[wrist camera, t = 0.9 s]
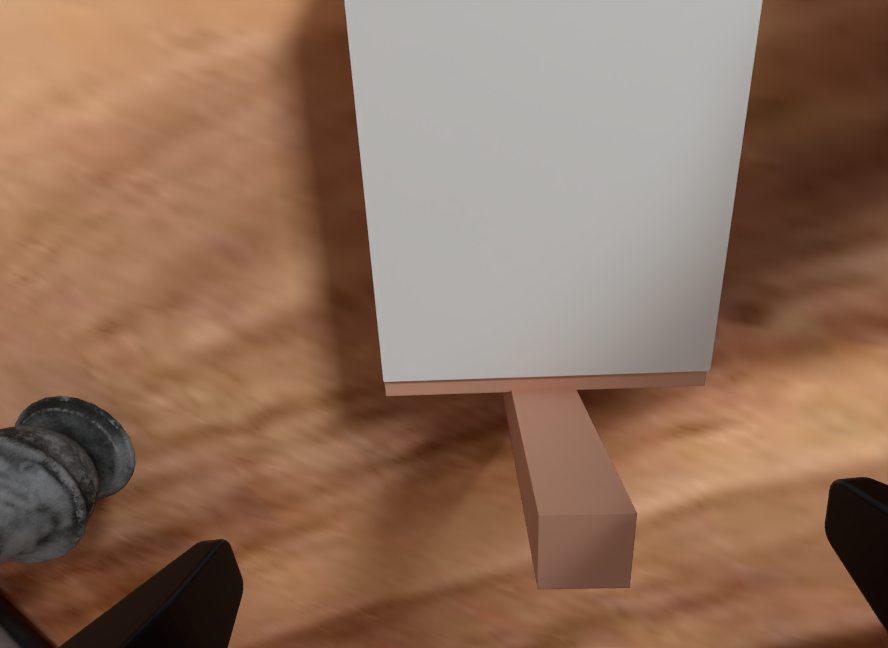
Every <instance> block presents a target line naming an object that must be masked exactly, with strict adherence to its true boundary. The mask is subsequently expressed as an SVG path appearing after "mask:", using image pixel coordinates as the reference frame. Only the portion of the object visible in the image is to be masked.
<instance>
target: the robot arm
mask: <svg viewBox="0 0 888 648" xmlns="http://www.w3.org/2000/svg"><path fill="white" fill-rule="evenodd" d="M825 532H826V535H827V538H828V540H829V542H830V544H831V546H832V548H833V549H834V551H835V552H836V554H837V555H838V557H839V558H840V560H841V562H842V563H843V565H844V566H845V568H846V569H847V571H848V572H849V574H850V575H851V577H852V579H853V580H854V582H855V583H856V585H857V586H858V588H859V589H860V591H861V593H862V594H863V596H864V597H865V599H866V600H867V602H868V603H869V605H870V606H871V608H872V610H873V611H874V613H875V614H876V616H877V617H878V619H879V620H880V622H881V623H882V625H883V627H884V628H885V630H886V631H887V633H888V485H886V484H884V483H881V482H879V481H876V480H874V479H871V478H867V477H856V478H846V479H838V480H836V481H834V482H833V483H832V484H831V486H830V489H829V497H828V504H827V511H826V519H825ZM242 594H243V579H242V575H241V573H240V570H239V567H238V564H237V562H236V559H235V556H234V553H233V551H232V548H231V545H230V543H229V542H228V541H226V540H224V539H217V540H207V541H201V542H198V543H197V544H195V545H194V546H192V547H191V548H190V549H188V550H187V551H186V552H185V553H183V554H182V555H181V556H179V557H178V558H177V559H175V560H174V561H173V562H171V563H170V564H169V565H167V566H166V567H165V568H163V569H162V570H161V571H159V572H158V573H157V574H155V575H154V576H153V577H151V578H150V579H149V580H147V581H146V582H145V583H143V584H142V585H141V586H139V587H138V588H137V589H135V590H134V591H133V592H131V593H130V594H129V595H127V596H126V597H125V598H123V599H122V600H121V601H120V602H118V603H117V604H116V605H114V606H113V607H112V608H110V609H109V610H108V611H106V612H105V613H104V614H102V615H101V616H100V617H98V618H97V619H96V620H94V621H93V622H92V623H90V624H89V625H88V626H86V627H85V628H84V629H82V630H81V631H80V632H78V633H77V634H76V635H74V636H73V637H72V638H70V639H69V640H68V641H66V642H65V643H64V644H62V645H61V646H60V647H58V648H228V644H229V641H230V637H231V634H232V630H233V626H234V623H235V619H236V616H237V612H238V609H239V605H240V602H241V598H242Z"/></svg>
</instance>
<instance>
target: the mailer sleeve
mask: <svg viewBox="0 0 888 648" xmlns="http://www.w3.org/2000/svg"><path fill="white" fill-rule="evenodd" d="M762 1H763V0H344V2H345V12H346V22H347V32H348V41H349V51H350V61H351V71H352V80H353V90H354V100H355V109H356V119H357V129H358V139H359V148H360V158H361V168H362V178H363V187H364V197H365V207H366V217H367V226H368V236H369V246H370V256H371V265H372V275H373V285H374V295H375V304H376V314H377V324H378V334H379V343H380V353H381V363H382V373H383V382H397V381H426V380H456V379H485V378H515V377H545V376H574V375H604V374H633V373H663V372H693V371H710V368H711V361H712V354H713V347H714V340H715V333H716V326H717V319H718V312H719V304H720V297H721V290H722V283H723V276H724V269H725V262H726V255H727V248H728V241H729V234H730V227H731V220H732V213H733V206H734V198H735V191H736V184H737V177H738V170H739V163H740V156H741V149H742V142H743V135H744V128H745V121H746V114H747V107H748V100H749V92H750V85H751V78H752V71H753V64H754V57H755V50H756V43H757V36H758V29H759V22H760V15H761V8H762Z"/></svg>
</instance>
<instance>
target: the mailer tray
mask: <svg viewBox="0 0 888 648" xmlns="http://www.w3.org/2000/svg"><path fill="white" fill-rule="evenodd" d="M705 379H706V371H693V372H663V373H633V374H604V375H574V376H545V377H515V378H485V379H456V380H426V381H397V382H385V390H386V396H403V395H434V394H464V393H495V392H503V398H504V404H505V409H506V415H507V421H508V426H509V432H510V437H511V443H512V449H513V454H514V460H515V465H516V471H517V476H518V482H519V488H520V493H521V499H522V504H523V510H524V516H525V521H526V527H527V532H528V538H529V544H530V549H531V555H532V560H533V566H534V572H535V577H536V583H537V588H538V589H588V588H630V580H631V570H632V559H633V549H634V539H635V529H636V518H637V513H636V510H635V508H634V506H633V504H632V502H631V500H630V498H629V496H628V494H627V492H626V490H625V488H624V486H623V484H622V482H621V480H620V478H619V476H618V474H617V472H616V470H615V468H614V466H613V464H612V461H611V459H610V457H609V455H608V453H607V451H606V449H605V447H604V445H603V443H602V441H601V439H600V437H599V435H598V433H597V431H596V429H595V427H594V425H593V423H592V421H591V419H590V417H589V415H588V412H587V410H586V408H585V406H584V404H583V402H582V400H581V398H580V396H579V394H578V392H577V390H588V389H618V388H649V387H680V386H705Z"/></svg>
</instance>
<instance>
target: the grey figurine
mask: <svg viewBox="0 0 888 648" xmlns="http://www.w3.org/2000/svg"><path fill="white" fill-rule="evenodd" d="M134 467H135V453H134V448H133V446H132V443H131V441H130V438H129V436H128V435H127V433H126V432H125V430H124V429H123V428H122V426H121V425H120V424H119V423H118V422H117V421H116V420H115V419H114V418H113V417H112V416H111V415H110V414H108V413H107V412H106V411H104V410H102V409H101V408H99V407H97V406H96V405H94V404H92V403H89V402H86V401H83V400H80V399H78V398H71V397H63V396H58V397H49V398H44V399H42V400H39V401H37V402H34V403H32V404H31V405H30V406H28V407H27V408H26V409H25V410H24V411H23V412H22V413H21V414H20V416H19V418H18V420H17V422H16V423H15V427H9V428H4V429H0V564H1V563H3V562H4V561H6V560H8V561H14V562H23V563H34V562H46V561H50V560H52V559H55V558H58V557H61V556H63V555H65V554H66V553H67V552H69V551H70V550H71V549H73V548H74V547H75V546H76V545H77V544H78V542H79V541H80V539H81V538H82V536H83V534H84V533H85V528H86V523H87V521H88V520H89V518H90V516H91V515H92V513H93V510H94V507H95V505H96V502H97V500H98V498H104V497H107V496H109V495H112V494H115V493H116V492H118V491H119V490H120V489H121V488H123V487H124V486H125V485H126V484H127V482H128V481H129V479H130V478H131V476H132V475H133V471H134Z"/></svg>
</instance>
